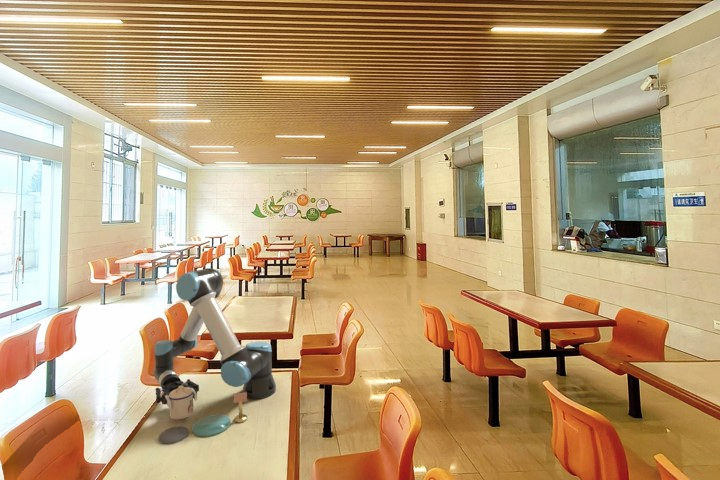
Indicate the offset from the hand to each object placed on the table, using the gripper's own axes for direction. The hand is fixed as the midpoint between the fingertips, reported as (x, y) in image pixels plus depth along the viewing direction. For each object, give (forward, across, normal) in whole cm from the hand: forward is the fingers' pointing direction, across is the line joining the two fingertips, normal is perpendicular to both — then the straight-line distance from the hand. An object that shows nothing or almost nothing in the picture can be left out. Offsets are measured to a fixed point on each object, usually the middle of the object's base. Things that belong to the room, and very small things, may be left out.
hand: (183, 401), depth 146 cm
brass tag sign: (+13, -18, -9) cm, 24 cm away
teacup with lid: (-4, 0, -7) cm, 8 cm away
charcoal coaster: (+7, +5, -9) cm, 13 cm away
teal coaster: (+10, -8, -9) cm, 15 cm away
